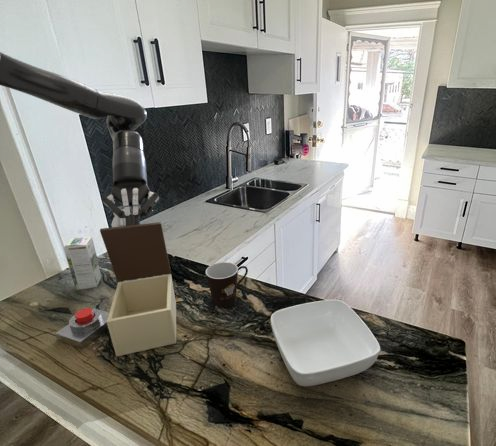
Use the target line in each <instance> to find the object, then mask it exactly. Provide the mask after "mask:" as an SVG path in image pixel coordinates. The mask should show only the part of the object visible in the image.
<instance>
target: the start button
mask: <svg viewBox="0 0 496 446" xmlns="http://www.w3.org/2000/svg"><path fill="white" fill-rule="evenodd" d="M74 315H75V318H76V321H77V323H78V324H82V323H86V322H89V321H91V320H92V319H93V318H94V314H93V310H92V308H89V307H87V308H83V309H80V310H78V311H77V312H76V313H75V314H74Z"/></svg>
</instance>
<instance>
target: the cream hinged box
mask: <svg viewBox="0 0 496 446" xmlns="http://www.w3.org/2000/svg"><path fill="white" fill-rule="evenodd" d="M107 325H108V333H109V335H110V340H111V343H112V346H113V349H114V353H115V357H120V356H125V355H129V354H133V353H138V352H144V351H147V350H152V349H156V348H162V347H165V346H170V345H175V344H177V302H176V295H175V289H174V283H173V277H172V273H170V274H164V275H157V276H151V277H145V278H138V279H132V280H126V281H120V282H118V281H117V285H116V288H115V292H114V295H113V298H112V302H111V305H110V309H109V315H108V319H107Z"/></svg>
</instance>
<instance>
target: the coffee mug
mask: <svg viewBox="0 0 496 446" xmlns="http://www.w3.org/2000/svg"><path fill="white" fill-rule="evenodd" d="M241 269H245V272H244V274H243V276H242V277H241V279H240V280H239V281H238V278H239V277H238V275H239V271H240V270H241ZM248 273H249V269H248V267H247V266H246V265H241V266H239V267H238V265H237V264H235V263H233V262H229V261H220V262H216V263H213V264H211V265H209V266H208V267H207V268H206V269H205V276H206V280H207V283H208V288H209V292H210V295H211V299H212V303H213V305H214V306H216V307H217V308H229V307H230V306H233V305H234V304H235V303H236V301H237V291H238V290H237V289H238V286H239V285H240V284H241V283H242V282H243V281H244V280H245V278H246V276H247V275H248Z"/></svg>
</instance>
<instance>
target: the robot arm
mask: <svg viewBox="0 0 496 446" xmlns="http://www.w3.org/2000/svg"><path fill="white" fill-rule="evenodd" d="M0 86H1V87H5V88H8V89H11V90H14V91H17V92H21V93H24V94H26V95H28V96H32V97H34V98H37V99H40V100H42V101H45V102H47V103H50V104H52V105H55V106H58V107H60V108H63V109H66V110H67V111H71V112H73V113H75V114H78V115H81V116H84V117H87V118H90V119H94V120H101V119H104V118H106V127H107V129H108V131H109V135H110V137H111V139H112V150H113V151H112V184H113V186H112V189H111V190H110V191H111V192H110V193H111V194H109V195H107V196H102V197H101V202H102V203H103V204H104V205H105V207H106V208H108V210H110V211H111V212H112V213H115V214H116V215H117V216H118V217H119V218H125V221H126V226H130V225H139V224H141V218H142V217H146V216H148V215H149V213H150V212H151V211H152V210H153V208H155V206H156V205H157V204H158V202H159V201H160V196H159V193H158V192H153V191H151V189H150V187H149V186H148V185H149V184H148V174H147V173H148V172H147V169H148V167H147V162H146V161H147V160H146V157H145V149H144V148H145V147H144V140H143V137H142V136H141V134H140V133H139V132H137V131H135V130H137V129H139V127H140V126H142V125H143V124H144V123H145V122H146V121H147V118H148V114H147V110H146V108H145V107H144V105H143V104H142V103H141V102H139V101H138V100H136V99H135V98H132V97H129V96H125V95H121V94H116V93H111V92H105V91H101V90H98V89H96V88H94V87H91V86H89V85H86V84H84V83H82V82H80V81H78V80H75V79H72V78H70V77H66V76H64V75H61V74H58V73H56V72H52V71H49V70H47V69H43V68H41V67H37V66H35V65H32V64H29V63H27V62H24V61H22V60H19V59H18V58H15V57H13V56H11V55H9V54H7V53H5V52H3V51H1V50H0ZM115 200H116V201H117V202H118V203H119V204H120V206H123V207H124V211H121V210H120V209H119V208H118V207H119V206H117V205H116V201H115ZM145 201H146V202H145ZM144 202H145V203H144ZM142 205H143V206H142Z"/></svg>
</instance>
